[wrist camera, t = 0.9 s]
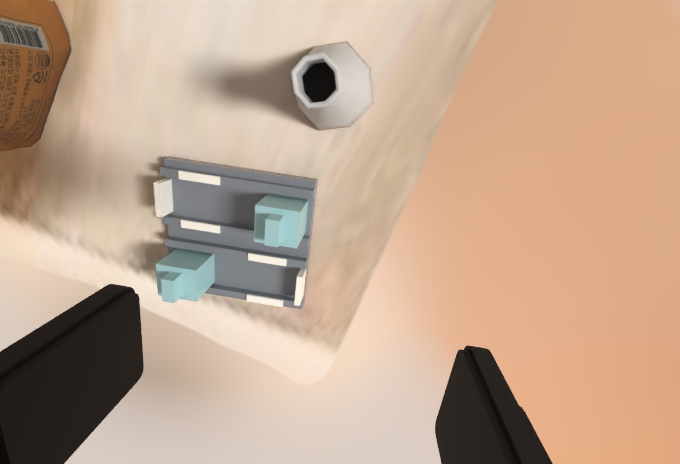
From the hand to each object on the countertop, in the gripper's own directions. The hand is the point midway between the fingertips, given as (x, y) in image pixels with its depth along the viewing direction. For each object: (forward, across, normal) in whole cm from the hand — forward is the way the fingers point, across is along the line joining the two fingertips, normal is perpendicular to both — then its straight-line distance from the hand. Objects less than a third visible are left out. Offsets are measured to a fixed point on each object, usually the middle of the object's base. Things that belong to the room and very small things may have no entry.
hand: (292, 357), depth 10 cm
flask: (+24, +3, -9) cm, 26 cm away
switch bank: (+25, +10, +6) cm, 28 cm away
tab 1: (+24, +15, +10) cm, 30 cm away
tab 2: (+24, +6, +3) cm, 24 cm away
